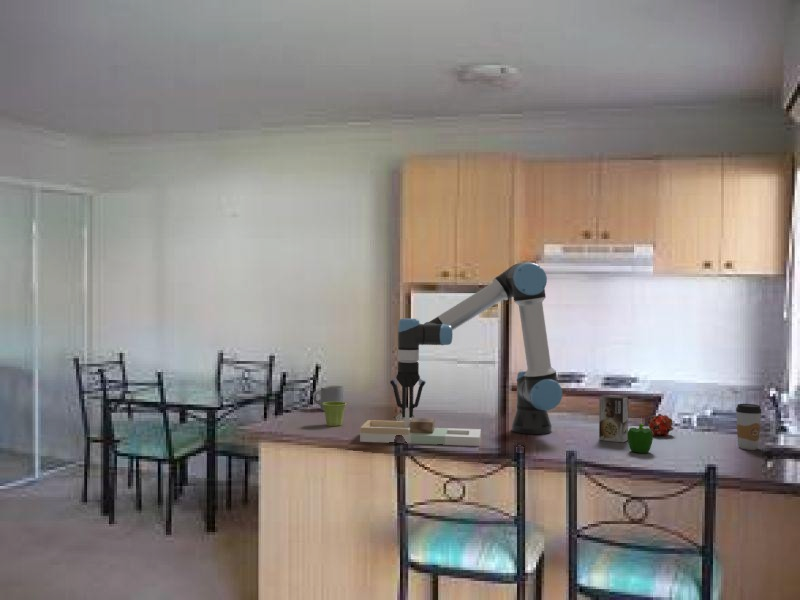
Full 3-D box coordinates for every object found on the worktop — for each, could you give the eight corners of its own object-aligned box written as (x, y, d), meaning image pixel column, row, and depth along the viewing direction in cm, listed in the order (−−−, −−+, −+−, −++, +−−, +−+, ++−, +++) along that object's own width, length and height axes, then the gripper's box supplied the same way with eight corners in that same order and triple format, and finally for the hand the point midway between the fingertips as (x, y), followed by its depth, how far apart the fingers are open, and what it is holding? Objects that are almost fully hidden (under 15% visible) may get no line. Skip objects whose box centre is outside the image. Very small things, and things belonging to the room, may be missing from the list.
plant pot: (343, 427, 310) (343, 405, 310) (319, 426, 312) (319, 404, 311) (348, 423, 319) (348, 401, 319) (325, 422, 321) (325, 401, 321)
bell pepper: (628, 448, 276) (628, 419, 276) (653, 450, 273) (653, 421, 273) (625, 453, 268) (626, 423, 268) (651, 455, 265) (652, 425, 265)
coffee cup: (746, 451, 274) (747, 407, 274) (729, 446, 282) (730, 403, 282) (766, 449, 277) (767, 406, 276) (749, 445, 285) (750, 403, 284)
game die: (403, 441, 304) (392, 421, 300) (397, 429, 312) (387, 410, 307) (423, 429, 304) (413, 410, 300) (418, 418, 312) (407, 399, 308)
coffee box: (628, 440, 291) (629, 396, 291) (622, 443, 286) (623, 398, 286) (604, 437, 296) (605, 393, 296) (598, 440, 291) (598, 395, 291)
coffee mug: (346, 408, 359) (346, 386, 358) (338, 411, 349) (338, 388, 349) (318, 406, 362) (318, 384, 362) (310, 410, 353) (310, 387, 353)
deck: (480, 437, 293) (480, 423, 293) (479, 446, 277) (479, 431, 277) (367, 433, 299) (367, 420, 299) (360, 441, 283) (360, 427, 283)
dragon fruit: (668, 437, 307) (657, 446, 297) (649, 422, 310) (638, 431, 301) (680, 421, 303) (670, 430, 293) (662, 406, 306) (651, 415, 297)
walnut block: (434, 429, 291) (434, 418, 291) (432, 433, 283) (432, 422, 283) (412, 428, 292) (412, 417, 292) (410, 432, 284) (410, 421, 284)
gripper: (427, 360, 291) (426, 425, 291) (391, 359, 293) (390, 424, 293) (425, 362, 284) (424, 429, 284) (388, 361, 285) (388, 427, 286)
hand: (407, 426), depth 289 cm, fingers closed
